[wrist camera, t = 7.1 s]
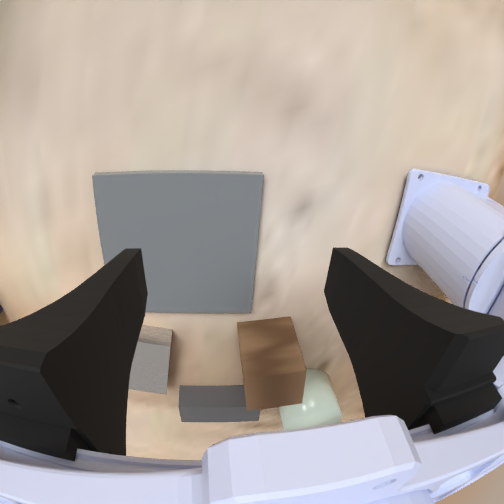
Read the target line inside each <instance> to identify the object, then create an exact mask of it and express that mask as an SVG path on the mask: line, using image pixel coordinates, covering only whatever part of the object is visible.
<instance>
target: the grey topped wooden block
mask: <svg viewBox="0 0 504 504" xmlns="http://www.w3.org/2000/svg"><path fill="white" fill-rule="evenodd" d="M171 337H172V329H166V328H159V327H153V326H146V325H142V328H141V331H140V335H139V339H138V342H137V346H136V350H135V354H134V358H133V362H132V366H131V372H130V380H129V389H133V390H140V391H146V392H153V393H160V394H167V381H168V369H169V358H170V347H171Z"/></svg>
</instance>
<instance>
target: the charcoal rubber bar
mask: <svg viewBox="0 0 504 504" xmlns="http://www.w3.org/2000/svg"><path fill="white" fill-rule="evenodd" d="M179 411H180V416H181V421H182V422H241V421H258V420H259V415H260V409H258V410H249V411H247V406H246V398H245V390H244V385H233V386H182V385H180V391H179Z"/></svg>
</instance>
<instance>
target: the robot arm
mask: <svg viewBox="0 0 504 504" xmlns="http://www.w3.org/2000/svg"><path fill="white" fill-rule="evenodd" d="M420 174H421V176H420V178H419V179H418V176H419V175H420ZM478 187H479V188H478ZM489 189H490V188H489V185H488V184H486V183H483V182H478V181H474V180H470V179H465V178H460V177H456V176H451V175H446V174H441V173H436V172H431V171H425V170H420V169H411V170H410V171H409V173H408V176H407V181H406V185H405V189H404V194H403V198H402V202H401V206H400V210H399V214H398V218H397V222H396V225H395V229H394V233H393V236H392V240H391V243H390V247H389V250H388V254H387V257H386V262H387V263H388V264H389V265H419V266H420V267H421V268H422V269H423V270H424V271H425V272H426V273H427V275H428V276H429V277H430V278H431V279H432V280H433V281H434V282H435V284H436V285H437V286H438V287H439V288H440V289H441V290H442V292H443V293H444V294H445V295H446V296H447V297H448V299H449V300H450V301H451V302H452V303H453V304H454V305H453V304H450V303H448V302H445V301H443V300H440V299H437V298H435V297H433V296H430V295H428V294H426V293H424V292H422V291H420V290H418V289H416V288H414V287H412V286H410V285H408V284H407V283H405V282H403V281H401V280H400V279H398V278H396V277H395V276H393V275H391V274H390V273H388V272H387V271H385V270H383V269H382V268H380V267H379V266H377V265H376V264H374V263H373V262H371V261H370V260H368V259H366V258H365V257H363V256H362V255H360V254H358V253H357V252H355V251H353V250H351V249H349V248H333V251H332V256H331V261H330V266H329V270H328V275H327V280H326V284H325V289H324V293H325V296H326V300H327V304H328V307H329V311H330V313H331V316H332V318H333V320H334V323H335V325H336V327H337V329H338V332H339V334H340V336H341V338H342V341H343V343H344V345H345V347H346V350H347V352H348V354H349V357H350V359H351V362H352V365H353V368H354V372H355V375H356V379H357V382H358V386H359V390H360V395H361V399H362V403H363V408H364V413H365V418H362V419H357V420H352V421H347V422H341V423H335V424H329V425H323V426H316V427H309V428H301V429H293V430H283V431H273V432H260V433H253V434H247V435H241V436H234V437H230V438H227V439H225V440H223V441H220V442H218V443H216V444H213V445H212V446H210V447H209V448H208V449H207V450H206V452H205V454H204V456H203V458H202V460H167V459H152V458H140V457H130V456H126V414H127V399H128V389H129V380H130V372H131V366H132V362H133V358H134V354H135V350H136V346H137V342H138V339H139V335H140V331H141V328H142V324H143V320H144V316H145V310H146V303H147V296H148V291H147V285H146V279H145V272H144V265H143V258H142V250H141V248H126V249H124V250H123V251H121V252H120V253H119V254H118V255H116V256H115V257H114V258H113V259H112V260H110V261H109V262H108V263H107V264H106V265H104V266H103V267H102V268H101V269H100V270H98V271H97V272H96V273H95V274H94V275H92V276H91V277H90V278H88V279H87V280H86V281H84V282H83V283H82V284H81V285H79V286H78V287H77V288H75V289H74V290H72V291H71V292H69V293H68V294H66V295H65V296H63V297H62V298H60V299H58V300H57V301H55V302H53V303H52V304H50V305H48V306H46V307H44V308H42V309H40V310H38V311H37V312H35V313H33V314H30V315H28V316H26V317H24V318H21V319H19V320H17V321H14V322H12V323H9V324H6V325H3V326H0V504H433V503H435V502H437V501H439V500H441V499H443V498H445V497H447V496H449V495H451V494H453V493H455V492H456V491H458V490H460V489H462V488H464V487H465V486H467V485H469V484H471V483H472V482H474V481H476V480H477V479H479V478H481V477H482V476H484V475H486V474H487V473H489V472H490V471H492V470H493V469H495V468H497V467H498V466H500V465H501V464H503V463H504V207H503V206H502V205H500V204H499V203H497V202H495V201H494V200H492V199H491V198H489V197H488V193H489ZM397 258H398V259H397ZM396 259H397V260H396Z"/></svg>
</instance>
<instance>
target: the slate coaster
mask: <svg viewBox="0 0 504 504" xmlns="http://www.w3.org/2000/svg"><path fill="white" fill-rule="evenodd" d="M263 177H264V175H263V173H262V172H237V171H131V172H106V173H95V174H94V175H92V179H93V189H94V198H95V206H96V214H97V221H98V228H99V235H100V241H101V247H102V253H103V259H104V264H105V265H106V264H107V263H108V262H109V261H110V260H112V259H113V258H114V257H115V256H116V255H118V254H119V253H120V252H121V251H123V250H124V249H126V248H141V250H142V258H143V265H144V272H145V279H146V285H147V291H148V296H147V303H146V310H145V312H169V313H251V309H252V298H253V287H254V276H255V266H256V255H257V244H258V233H259V222H260V211H261V200H262V188H263Z"/></svg>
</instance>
